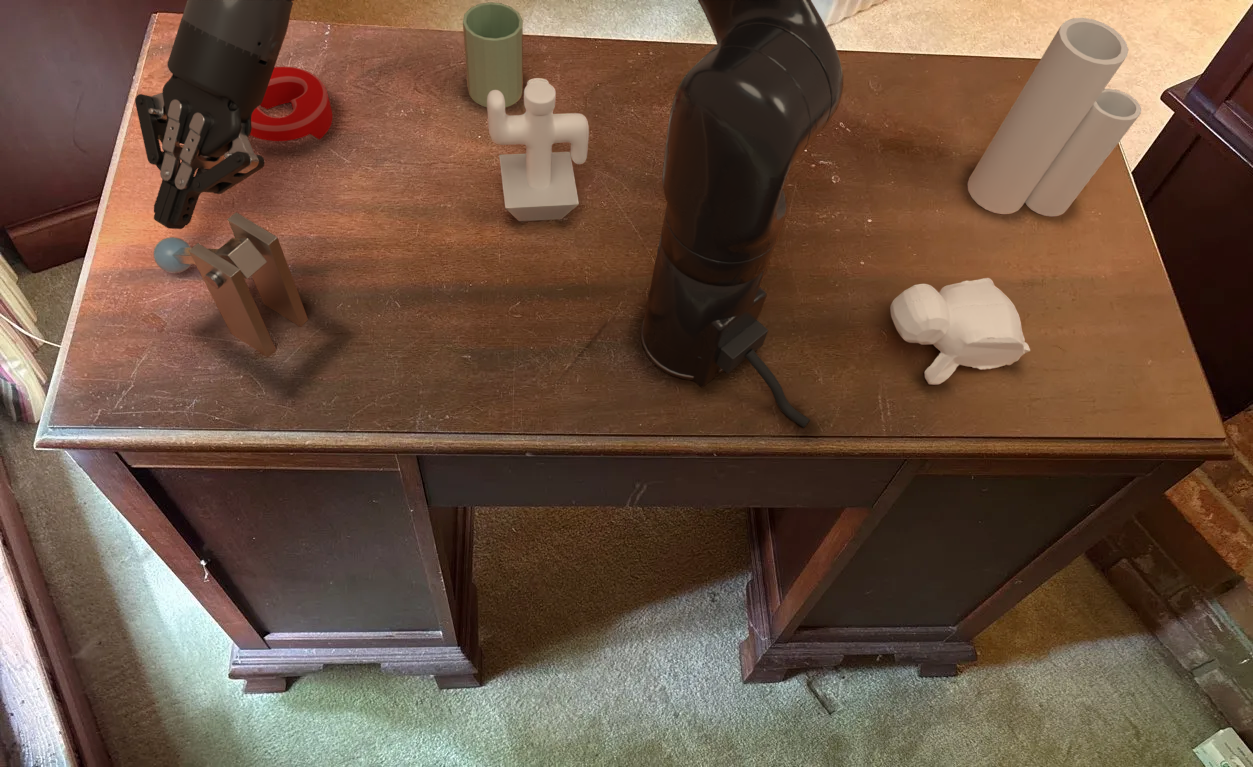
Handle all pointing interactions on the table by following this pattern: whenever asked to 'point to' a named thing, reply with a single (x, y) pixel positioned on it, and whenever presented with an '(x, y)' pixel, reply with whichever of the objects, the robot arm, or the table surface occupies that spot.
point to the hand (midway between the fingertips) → (168, 224)
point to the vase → (1058, 124)
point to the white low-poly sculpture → (960, 326)
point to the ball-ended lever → (236, 251)
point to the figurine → (538, 153)
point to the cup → (493, 52)
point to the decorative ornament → (306, 102)
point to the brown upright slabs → (236, 295)
